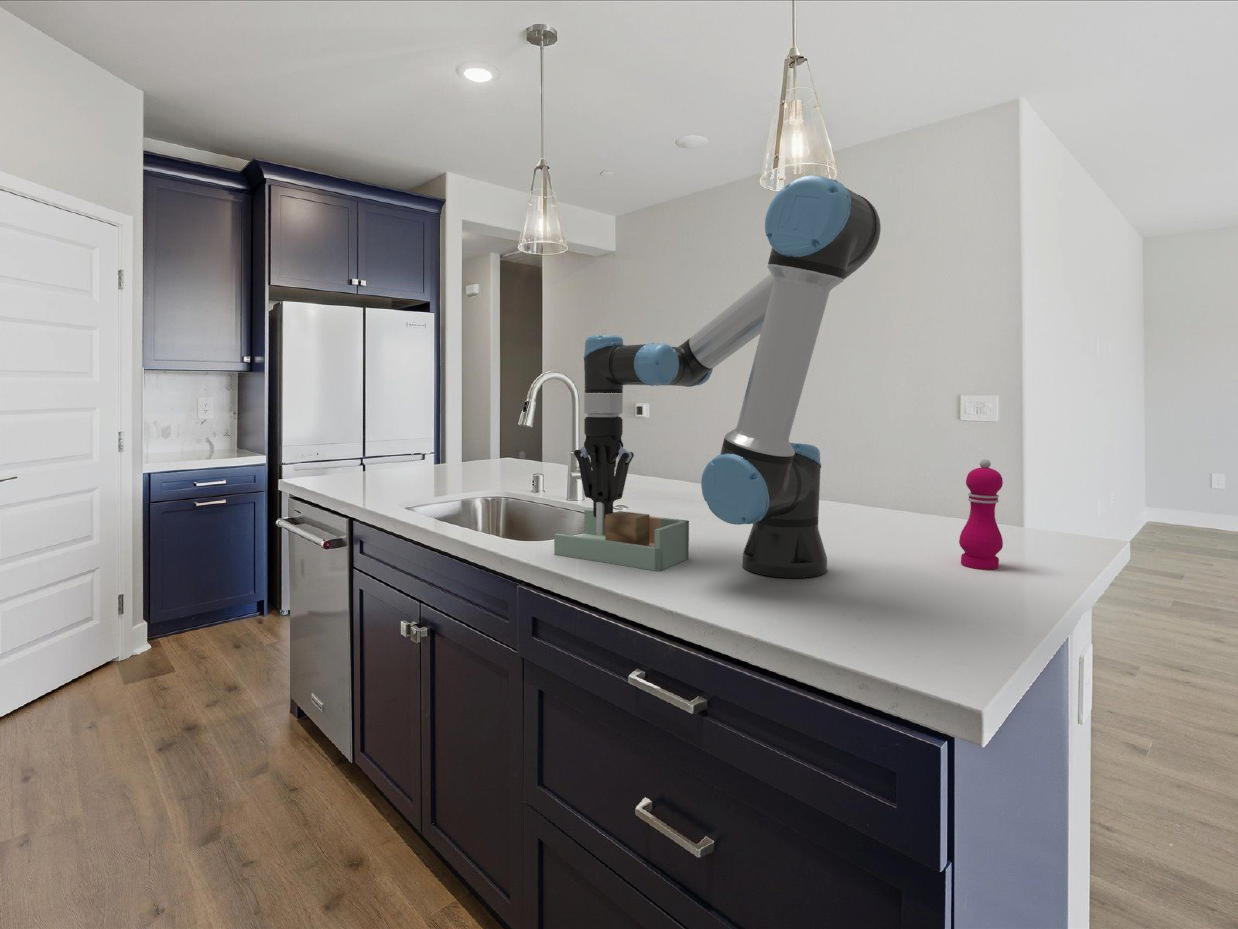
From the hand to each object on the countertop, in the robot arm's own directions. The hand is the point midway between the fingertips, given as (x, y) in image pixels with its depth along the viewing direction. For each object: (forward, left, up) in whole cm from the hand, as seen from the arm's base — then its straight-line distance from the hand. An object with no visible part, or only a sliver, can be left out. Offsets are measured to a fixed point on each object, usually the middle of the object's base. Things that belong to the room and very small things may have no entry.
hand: (603, 534), depth 136 cm
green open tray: (-4, 0, -4) cm, 6 cm away
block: (-6, 0, -2) cm, 6 cm away
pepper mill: (-64, -31, -4) cm, 71 cm away
